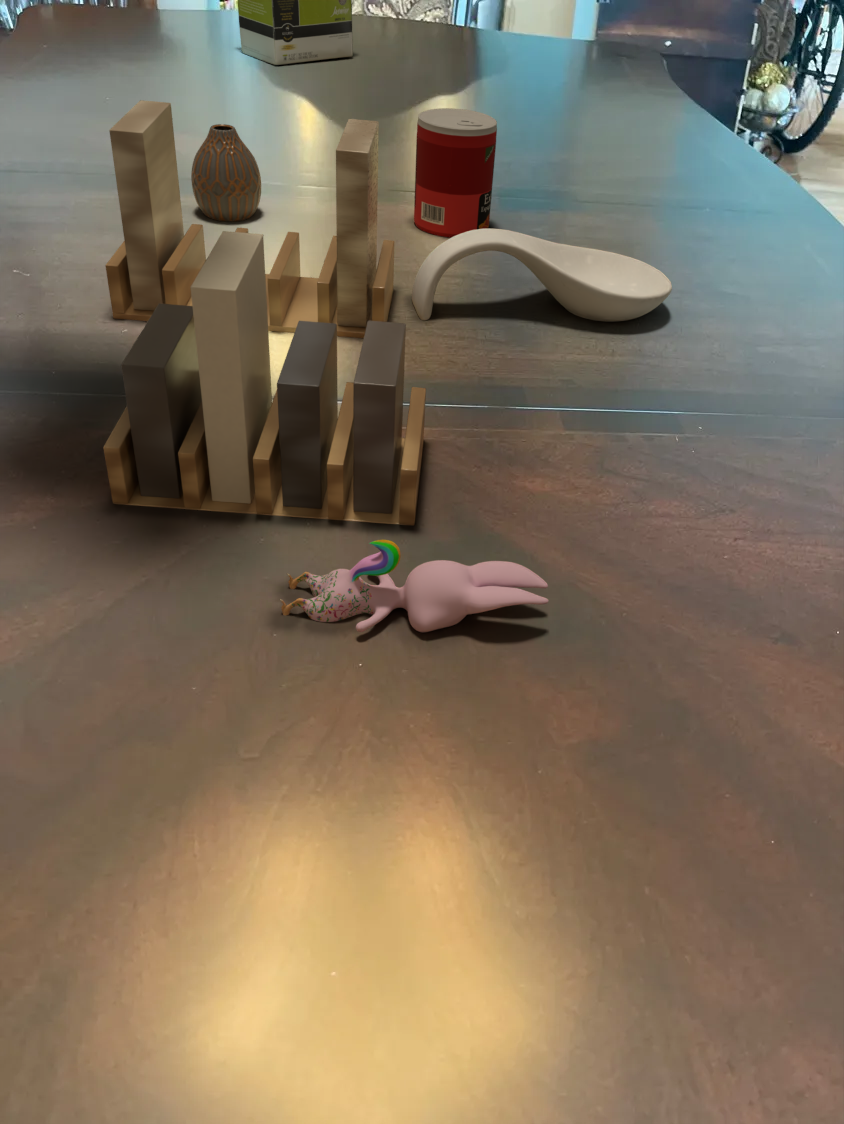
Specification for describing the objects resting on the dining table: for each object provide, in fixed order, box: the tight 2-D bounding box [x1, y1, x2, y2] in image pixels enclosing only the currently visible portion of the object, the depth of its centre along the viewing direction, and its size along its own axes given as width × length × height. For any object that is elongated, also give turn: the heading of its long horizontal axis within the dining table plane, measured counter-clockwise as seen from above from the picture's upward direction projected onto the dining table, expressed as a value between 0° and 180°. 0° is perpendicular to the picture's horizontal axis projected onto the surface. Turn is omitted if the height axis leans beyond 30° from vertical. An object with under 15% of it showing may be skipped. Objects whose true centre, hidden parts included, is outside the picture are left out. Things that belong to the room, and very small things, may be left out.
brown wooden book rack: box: [102, 303, 427, 526], centre depth 68 cm, size 19×11×10 cm, turn 89°
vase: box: [190, 123, 262, 222], centre depth 106 cm, size 7×7×9 cm
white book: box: [191, 230, 273, 504], centre depth 66 cm, size 2×9×14 cm, turn 179°
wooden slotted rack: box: [104, 99, 396, 339], centre depth 88 cm, size 22×11×15 cm, turn 89°
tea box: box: [237, 0, 354, 66], centre depth 162 cm, size 15×10×15 cm, turn 133°
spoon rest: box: [411, 227, 673, 323], centre depth 94 cm, size 24×12×7 cm, turn 104°
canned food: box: [413, 107, 498, 238], centre depth 108 cm, size 8×8×11 cm
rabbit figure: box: [279, 539, 549, 633], centre depth 59 cm, size 6×6×15 cm
